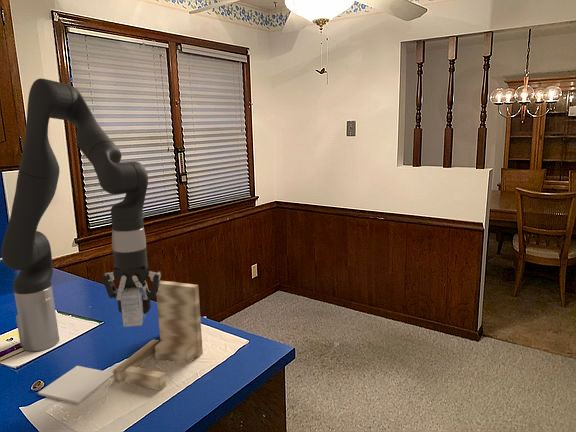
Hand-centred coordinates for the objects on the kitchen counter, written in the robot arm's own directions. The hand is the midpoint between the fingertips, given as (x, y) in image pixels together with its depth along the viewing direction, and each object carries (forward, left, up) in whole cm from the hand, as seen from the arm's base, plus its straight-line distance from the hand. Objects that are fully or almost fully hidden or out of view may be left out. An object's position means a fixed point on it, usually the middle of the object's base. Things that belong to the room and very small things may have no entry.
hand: (134, 312), depth 107 cm
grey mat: (-12, -9, -17) cm, 22 cm away
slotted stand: (+3, +4, -17) cm, 17 cm away
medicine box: (0, 0, -2) cm, 2 cm away
